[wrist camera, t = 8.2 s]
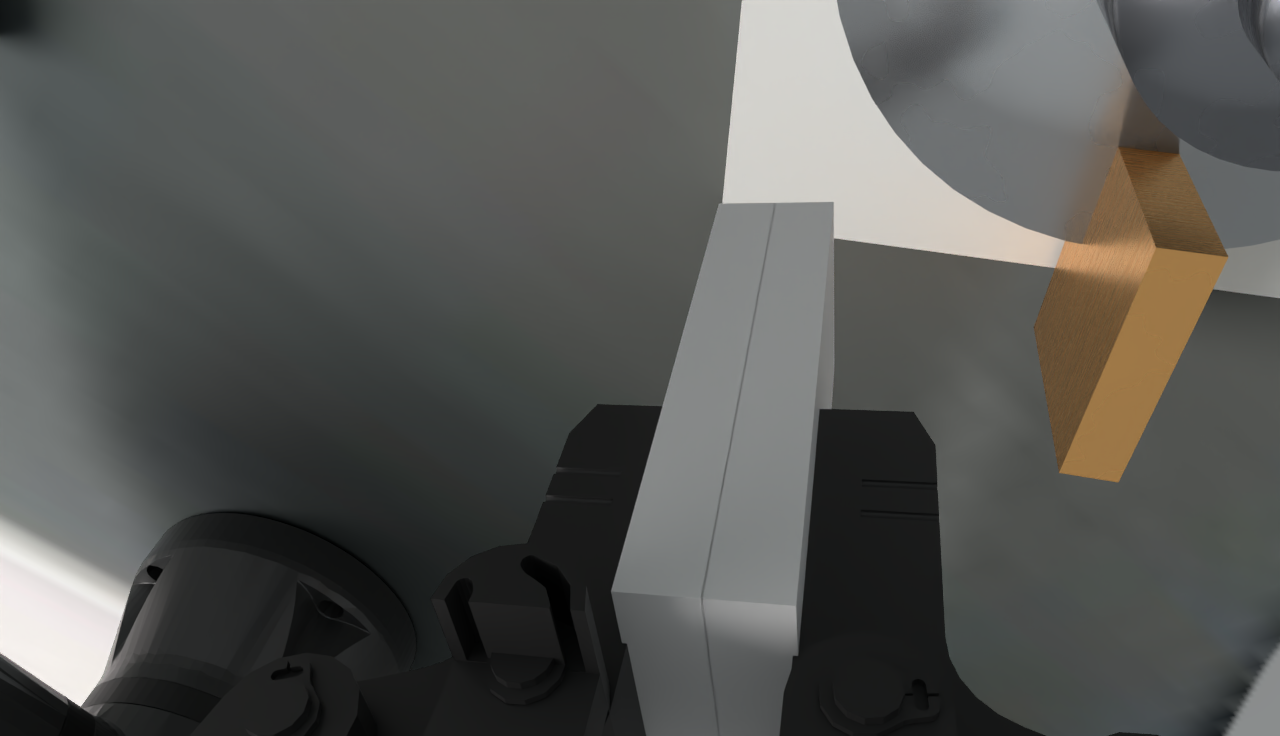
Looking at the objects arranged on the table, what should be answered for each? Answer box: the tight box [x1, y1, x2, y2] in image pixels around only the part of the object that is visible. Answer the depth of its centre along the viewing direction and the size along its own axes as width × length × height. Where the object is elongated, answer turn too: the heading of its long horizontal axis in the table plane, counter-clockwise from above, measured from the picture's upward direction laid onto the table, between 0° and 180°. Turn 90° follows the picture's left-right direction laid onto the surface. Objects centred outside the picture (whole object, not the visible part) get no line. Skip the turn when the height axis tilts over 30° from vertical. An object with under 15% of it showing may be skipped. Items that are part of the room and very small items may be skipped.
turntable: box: [837, 0, 1280, 482], centre depth 22 cm, size 18×22×7 cm
